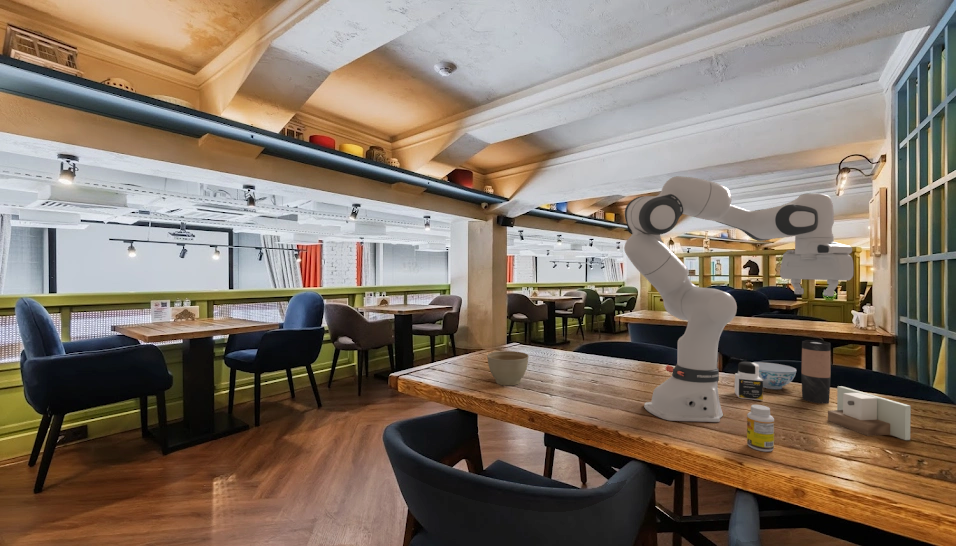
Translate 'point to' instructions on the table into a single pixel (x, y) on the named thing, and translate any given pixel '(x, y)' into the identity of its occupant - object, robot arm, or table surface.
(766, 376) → the chinaware
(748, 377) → the medicine bottle
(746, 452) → the table surface
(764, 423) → the supplement bottle
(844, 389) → the wall board
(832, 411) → the cleat ledge
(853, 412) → the cabinet block
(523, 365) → the planter bowl
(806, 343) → the travel mug
